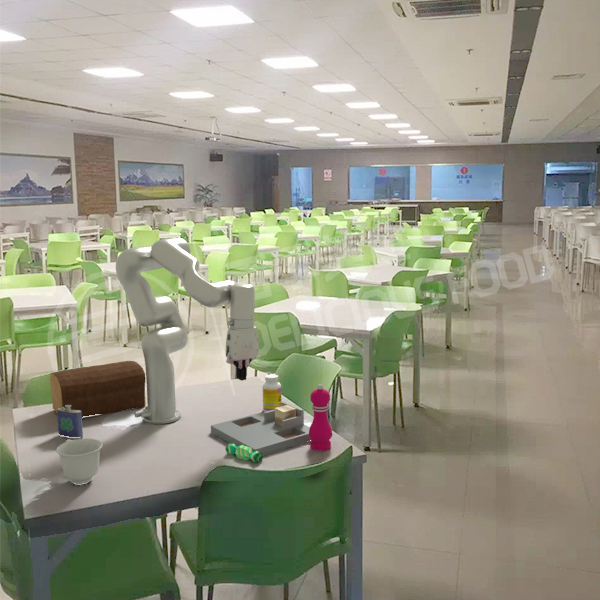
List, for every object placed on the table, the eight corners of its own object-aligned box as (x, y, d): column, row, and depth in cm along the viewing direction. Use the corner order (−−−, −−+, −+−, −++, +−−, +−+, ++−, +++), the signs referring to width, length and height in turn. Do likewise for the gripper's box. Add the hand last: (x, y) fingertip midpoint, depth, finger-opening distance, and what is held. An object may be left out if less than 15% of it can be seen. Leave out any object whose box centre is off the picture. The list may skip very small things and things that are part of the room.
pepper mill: (335, 444, 207) (335, 381, 204) (328, 453, 201) (328, 388, 197) (313, 441, 210) (312, 379, 206) (305, 450, 203) (304, 386, 200)
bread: (51, 409, 243) (48, 366, 241) (131, 395, 259) (129, 355, 256) (63, 424, 228) (59, 378, 226) (147, 408, 244) (145, 365, 241)
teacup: (89, 465, 194) (87, 432, 192) (112, 481, 183) (110, 446, 181) (47, 477, 186) (45, 443, 184) (69, 495, 175) (66, 459, 173)
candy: (223, 453, 200) (229, 439, 201) (230, 455, 202) (235, 443, 203) (252, 463, 192) (257, 449, 193) (259, 466, 195) (264, 452, 196)
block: (283, 426, 216) (283, 412, 215) (275, 422, 220) (274, 408, 219) (296, 423, 219) (296, 408, 218) (287, 419, 223) (287, 404, 222)
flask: (84, 436, 216) (82, 405, 214) (78, 440, 213) (76, 407, 211) (62, 433, 219) (59, 402, 218) (55, 436, 217) (53, 404, 215)
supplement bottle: (281, 414, 235) (280, 378, 233) (262, 414, 236) (261, 378, 233) (282, 407, 242) (281, 373, 240) (263, 407, 242) (262, 373, 240)
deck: (255, 457, 198) (254, 433, 197) (210, 432, 218) (210, 410, 217) (318, 438, 212) (318, 415, 211) (271, 416, 233) (270, 396, 231)
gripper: (227, 328, 203) (227, 386, 206) (268, 322, 212) (267, 378, 215) (215, 323, 209) (215, 379, 212) (255, 318, 218) (254, 372, 221)
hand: (241, 379), depth 214 cm, fingers closed
